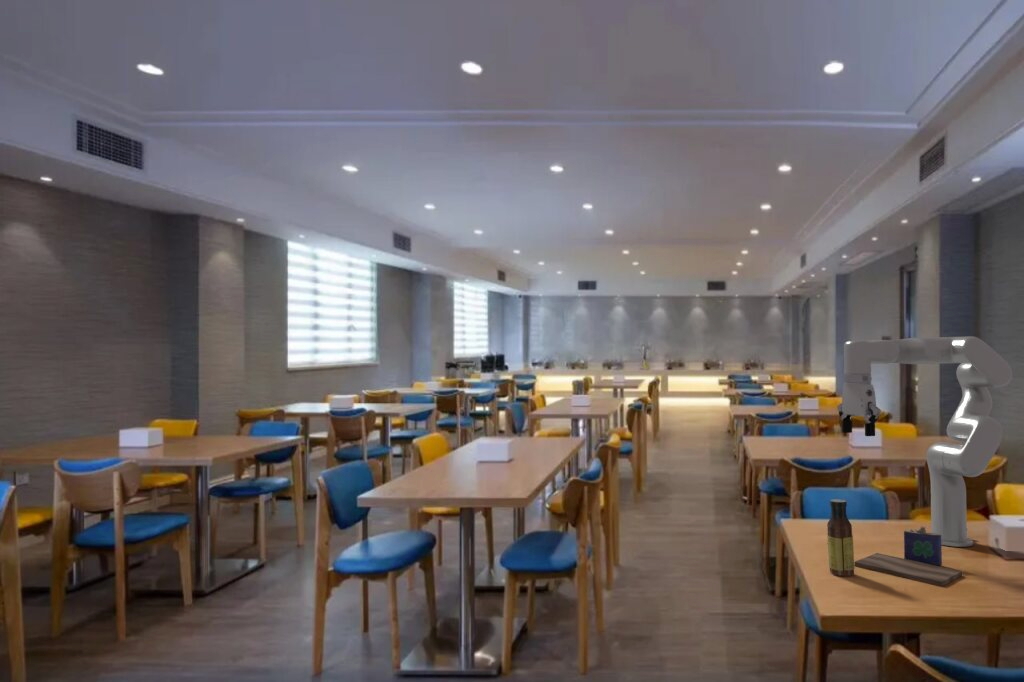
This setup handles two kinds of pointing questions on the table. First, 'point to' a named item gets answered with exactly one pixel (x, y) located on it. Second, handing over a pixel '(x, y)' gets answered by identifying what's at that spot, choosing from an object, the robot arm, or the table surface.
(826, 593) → the table surface
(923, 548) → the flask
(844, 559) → the sauce bottle
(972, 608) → the table surface
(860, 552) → the table surface
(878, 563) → the walnut board
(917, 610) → the table surface
